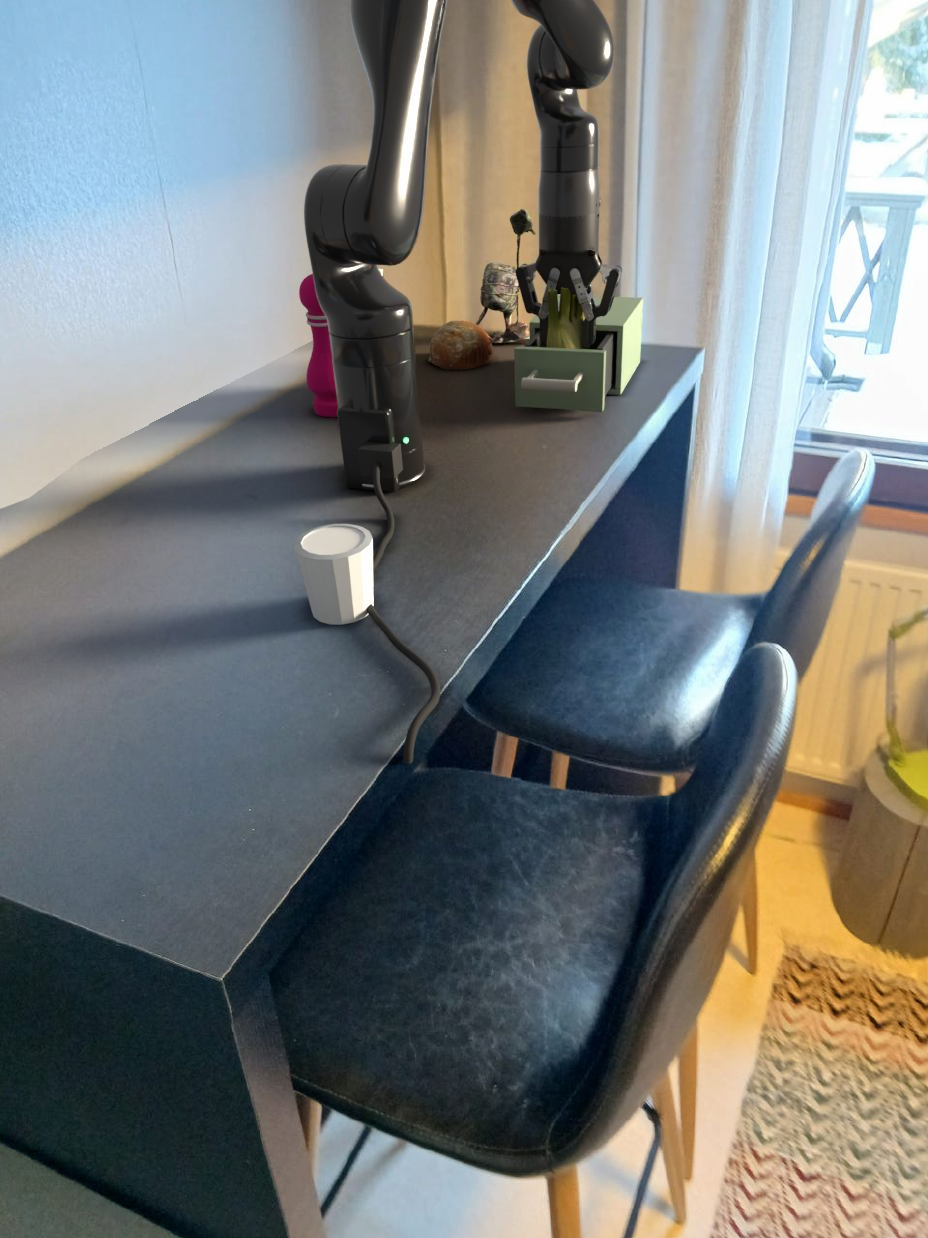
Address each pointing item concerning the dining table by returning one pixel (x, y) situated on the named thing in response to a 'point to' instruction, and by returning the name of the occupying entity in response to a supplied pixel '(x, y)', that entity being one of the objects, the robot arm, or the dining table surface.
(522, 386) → the green pull-out drawer
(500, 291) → the grey irregular tall piece
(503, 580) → the dining table surface
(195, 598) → the dining table surface
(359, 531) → the shot glass
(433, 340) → the bread roll
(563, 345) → the fennel bulb
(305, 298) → the pepper mill
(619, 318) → the green drawer cabinet
